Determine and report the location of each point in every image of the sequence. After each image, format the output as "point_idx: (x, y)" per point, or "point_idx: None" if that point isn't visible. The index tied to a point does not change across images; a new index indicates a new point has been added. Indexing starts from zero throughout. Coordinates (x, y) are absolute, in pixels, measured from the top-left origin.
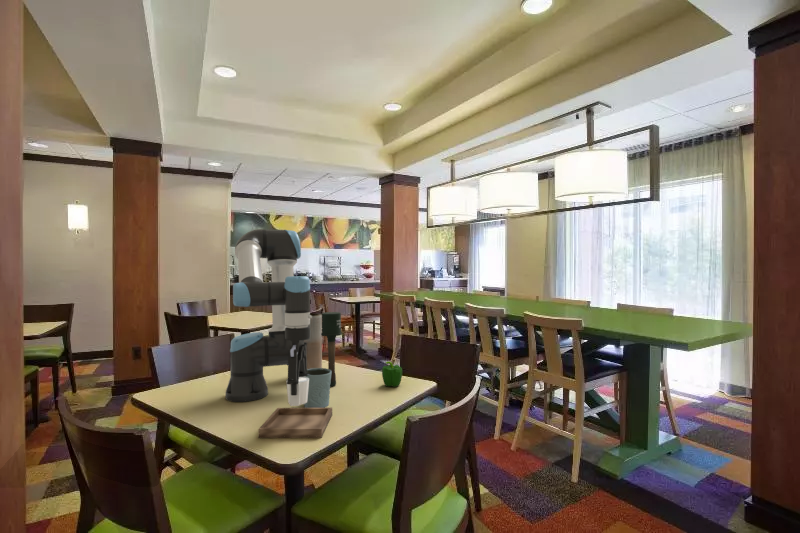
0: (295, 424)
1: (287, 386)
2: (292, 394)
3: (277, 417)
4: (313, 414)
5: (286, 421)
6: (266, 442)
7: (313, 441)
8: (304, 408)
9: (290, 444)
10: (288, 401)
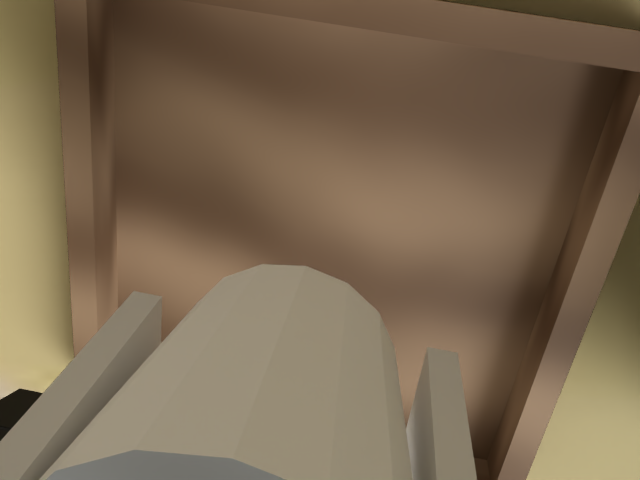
0: (297, 237)
1: (139, 395)
2: (4, 412)
3: (518, 56)
4: (504, 363)
5: (381, 158)
6: (19, 38)
7: (55, 342)
8: (561, 322)
9: (2, 214)
10: (249, 275)
